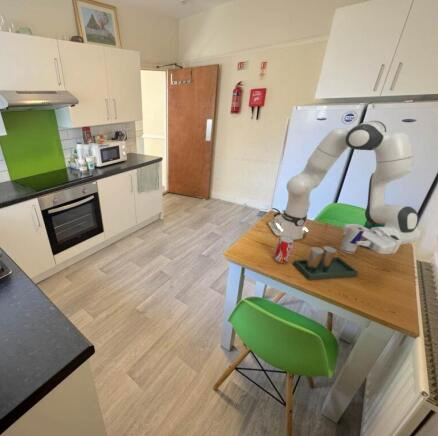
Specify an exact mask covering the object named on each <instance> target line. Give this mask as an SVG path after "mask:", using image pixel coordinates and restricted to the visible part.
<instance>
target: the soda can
mask: <svg viewBox="0 0 438 436" xmlns="http://www.w3.org/2000/svg"><path fill="white" fill-rule="evenodd" d="M294 245H295V240H293V239H292V238H291V237H288V236H279V238H278V240H277V243H276V247H275V251H274V254H273V259H274V261H276V262H278V263H280V264H287V263H288V262H289V261H290V258H291V255H292V253H293V252H292V251H293V249H294Z"/></svg>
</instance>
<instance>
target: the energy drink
mask: <svg viewBox="0 0 438 436" xmlns="http://www.w3.org/2000/svg"><path fill="white" fill-rule="evenodd" d="M363 232H364V229H363V228H362V227H359V226H355V225H351V226H350V227H349V228H348V230H347V232H346V235H345V237H344V236H343V239H342V241H341V245H340V247H339V250H340V251H341V252H343V253H345V254H351V255H352V254H354V253H355V252H356V250H357V248H358V246H359V245H357V244H355V241H356V240H360V239H361V237H362V235H363Z"/></svg>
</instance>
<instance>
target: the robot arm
mask: <svg viewBox="0 0 438 436" xmlns="http://www.w3.org/2000/svg"><path fill="white" fill-rule="evenodd" d="M412 145H413V144H412V142H411V139H410V136H409V135H408V133H406V132H404V131H393V132H387V127H386V125H385V124H384V123H383V122H381V121H378V120H369V121H365V122H362V123H360V124H357V125H355V126H354V127H352V128H351V129H346V128H342V127H341V128H340V127H339V128H337V127H336V128H334V129H332V130H331V131H329V132H328V134H326V135H325V137H323V139H322V140H321V141H320V143H318V145H317V146H316V148H315V149H314V150H313V152H312V153H311V155H310V156H309V157H308V159H307V163H306V164H305V167H304V168H303V170H302V171H301V172H300V173H298V174H296V175H294V176H292V177H291V178H290V179H289V180H288V181H287V183H286V186H285V187H286V190H287V203H286V207H285V209H284V210H283V209H282V211H280V210H279V209H278V208H276V207H275V208H274V207H273V208H271V210H272V211H273V210H275V211H277V213H274V214H273V216H274V218H273V219H272V221H269V222H268V223H267V225H268V227H269V228H270V230H271V231H272V232H273V234H274V235H275V236H279V237H281V236H288V237H291V238H292V239H293V240H294V241H295V240H297V241H298V240H301V239H303V238H304V235H305V234H306V232H309V230H308V228H307V227H306V223H307V222H306V221H307V219H308V212H309V208H310V207H311V201H310V195H311V192H312V190H315V189H316V188H317V187H319V185H321V183H322V182H323V180H324V178H325V177H326V176H327V174H328V172H329V171H330V169H331V168H332V167H333V166H334V164H336V162H337V161H338V160H339V158H340V157H341V156H342V154H344V152H345V151H346V150H347V149H348V148H350V149H352V150H357V151H374V154H375V169H374V172H373V173H371V174H370V177H369V183H368V193H367V204H366V207H365V211H364V216H365V219H366V220H368V221H369V222H370V223H372V224H380V225H385V226H384V227H373V228H371V229H367V228H366V227H364V225H362V224H359V223H345V224H344V225H343V227H342V232H343V233H342V237H343V238H344V237H345V235H346V232H347V230H348V228H349V227H350V226H351V225H355V226H359V227H362V228H363V229H364V232H363V235H362V237H361V239H360V240H356V241H355V244H357V245H358V246H361V245H362V246H368V247H369V248H368V249H370V250H372V251H374V252H375V253H377V254H380V255H390V254H396V253H397V251H398V250H399V248H400V246H403V245H409V244H413V243H415V242H417V241H418V240H420V238H421V236H422V231H421V229H420V228H419V227H418V224H419V214H418V212H417V210H416V209H415V208H413V207H412V206H408V205H406V206H405V205H397V204H387V203H386V202H385V195H386V188H387V185H388V184H390V183H391V182H394V181H396V180H400V179H402V178H403V177H405V176H407V175H408V174H409V173H411V171H412V170H413V169H414V151H413V146H412ZM281 213H282V214H281ZM362 246H361V247H362Z"/></svg>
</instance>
